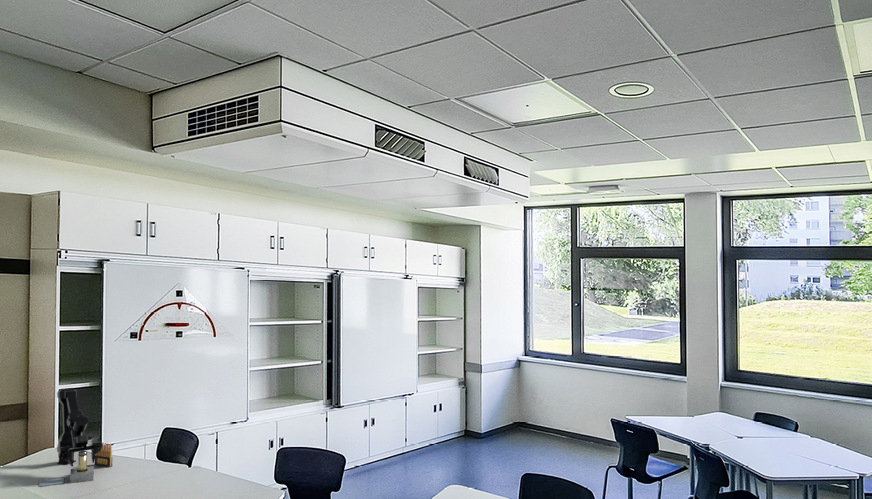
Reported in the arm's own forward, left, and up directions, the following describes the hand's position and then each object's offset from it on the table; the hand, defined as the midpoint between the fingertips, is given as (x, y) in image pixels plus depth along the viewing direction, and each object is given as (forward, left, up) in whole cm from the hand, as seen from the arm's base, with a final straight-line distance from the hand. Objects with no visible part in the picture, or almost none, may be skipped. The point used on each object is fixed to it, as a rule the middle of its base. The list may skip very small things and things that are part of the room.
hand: (83, 464), depth 310 cm
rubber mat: (+9, -10, -7) cm, 15 cm away
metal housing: (-1, -1, -7) cm, 7 cm away
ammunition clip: (-20, -8, -7) cm, 23 cm away
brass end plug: (-1, -1, -7) cm, 7 cm away
